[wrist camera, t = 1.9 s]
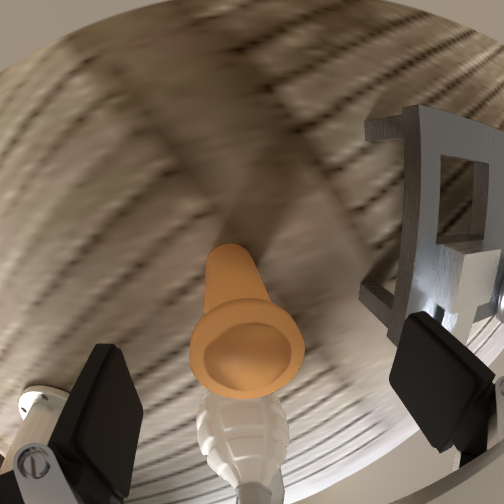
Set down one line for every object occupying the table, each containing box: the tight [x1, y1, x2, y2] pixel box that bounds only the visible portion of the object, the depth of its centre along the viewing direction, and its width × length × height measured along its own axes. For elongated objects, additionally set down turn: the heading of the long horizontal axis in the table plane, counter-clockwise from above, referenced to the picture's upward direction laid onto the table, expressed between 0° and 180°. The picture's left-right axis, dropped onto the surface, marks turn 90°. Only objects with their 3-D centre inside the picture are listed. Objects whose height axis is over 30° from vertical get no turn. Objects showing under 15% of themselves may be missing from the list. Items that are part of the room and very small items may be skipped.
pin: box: [189, 243, 305, 399], centre depth 15 cm, size 4×4×10 cm
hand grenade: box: [196, 390, 289, 504], centre depth 17 cm, size 8×6×13 cm
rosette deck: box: [359, 104, 504, 348], centre depth 15 cm, size 18×17×13 cm
